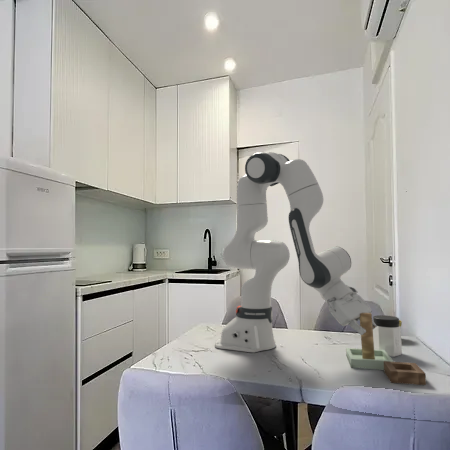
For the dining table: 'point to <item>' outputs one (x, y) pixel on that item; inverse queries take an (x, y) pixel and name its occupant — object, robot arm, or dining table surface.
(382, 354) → the tray
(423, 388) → the dining table surface
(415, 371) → the socket block
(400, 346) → the jar
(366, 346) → the dowel
